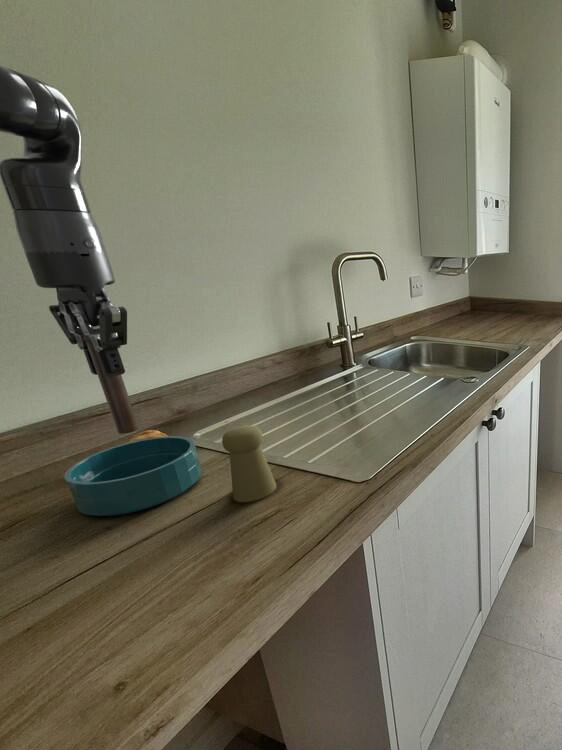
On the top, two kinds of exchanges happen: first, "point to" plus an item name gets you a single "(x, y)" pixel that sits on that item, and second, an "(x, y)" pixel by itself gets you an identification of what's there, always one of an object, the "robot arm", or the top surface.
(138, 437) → the pastry
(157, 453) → the bowl
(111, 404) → the stirring stick
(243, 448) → the cork
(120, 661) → the top surface
